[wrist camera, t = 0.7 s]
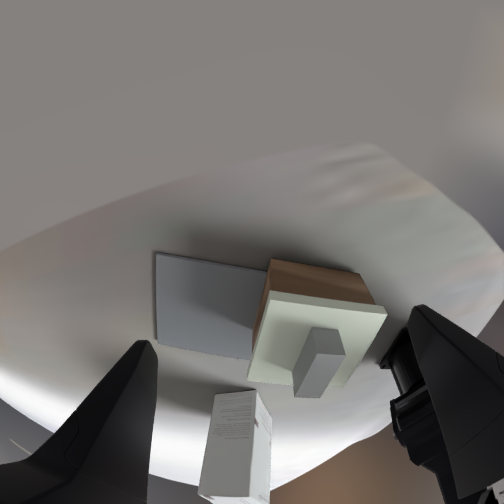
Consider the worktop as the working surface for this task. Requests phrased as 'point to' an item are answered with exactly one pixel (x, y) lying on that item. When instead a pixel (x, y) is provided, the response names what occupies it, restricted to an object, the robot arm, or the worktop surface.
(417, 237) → the worktop surface
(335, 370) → the lid
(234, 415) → the skincare box
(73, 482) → the robot arm
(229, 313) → the mat
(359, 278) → the box
